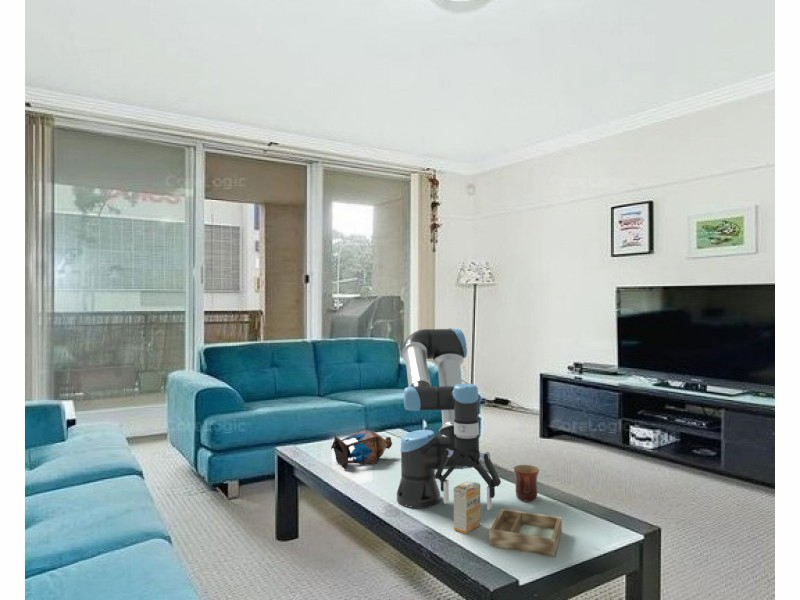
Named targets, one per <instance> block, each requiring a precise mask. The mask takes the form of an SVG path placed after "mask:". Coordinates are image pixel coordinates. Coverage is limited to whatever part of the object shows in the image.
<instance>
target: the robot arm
mask: <svg viewBox="0 0 800 600" xmlns="http://www.w3.org/2000/svg"><path fill="white" fill-rule="evenodd" d="M401 356H402V359H403V361H404V362H405V366H406V374H407V385H408V386H407V387H405V388H404V390H403V405H404V409H405V410H406V411H413V412H414V411H415V412H419V411H420V412H421V411H441V420H442V426H441V428H439V430H438V434H435V433H434V431H433V430H431V429H418V430H413V431H410V432H407V433H406V434H404V435H403V436H402V438H401V440H400V441H401V442H400V449H399V450H400V453H401V455H400V457H401V458H400V463H401V464H400V465H401V466H400V467H401V470H400V471H401V473H400V474H401V478H400V482H399V484H398V488H397V491H396V501H397V503H398V502H399V503H398V504H400V503H401V504H403V505H402V506H404V505H407V506H412V507H411V508H413V507H424V508H429V506H430V507H432V506H435V505H438V503H440V502H441V492H443V504H447V503H448V502H449V501H450V498H449V497H450V493H449V492H450V491H449V490H450V489H449V488H450V486H449V485H450V484H449V480H450V479H447V478H448V477H449V476H450V475H451V474H452V472H454V470H464V469H466V470H467V469H473V468H474V469H475V470H476V471H477V472H478V474H479V475H480V476H481V478H482V479H483V480H484V482H485V484H487V486H486V510H489V511H490V510H491V508H492V507H493V503H492V502H493V501H492V499H494V498H495V496H496V491H495V490H496V487H499V486H500V485H501V483H502V481H501V478H500V477H499V474H498V473H497V470H496V469H495V467H494V464H493V463H492V460H491V455H490V452H489V451H485V453H484V452H483V453H481V452H480V437H479V435H480V432H479V431H480V430H479V429H480V428H479V427H480V426H479V399H480V398H479V389H478V386H477V385H476V384H473V383H463V378H462V372H461V371H462V370H461V369H462V368H461V365H462V364H463V363H464V360H465V359H466V358H467V356H468V348H467V341H466V337H465V334H464V332H463V331H462V330H461V329H459V328H435V329H434V328H432V329H431V328H428V329H426V328H423V329H419V330H416V331H414V332H413V333H411V334H410V335H409V336H408V337H407V338H406V339H405V341H404V342H403V345H402V348H401ZM427 360H432V361H433V364H434V366H436V367H437V372H438V385H439V386H432V383H431V378H430V374H429V367H428V362H427ZM480 459H482V461H484V465H485V466H486V468H487V470H486V469H485V468H484V466H483V465H482V463H481V462H480ZM444 470H446V471H445V473H443V471H444ZM435 472H436V473H435ZM488 472H489V473H488ZM437 480H439V482H440V488H439V485H438V483H437ZM440 491H441V492H440ZM401 504H400V505H401ZM407 506H406V507H407Z"/></svg>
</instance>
